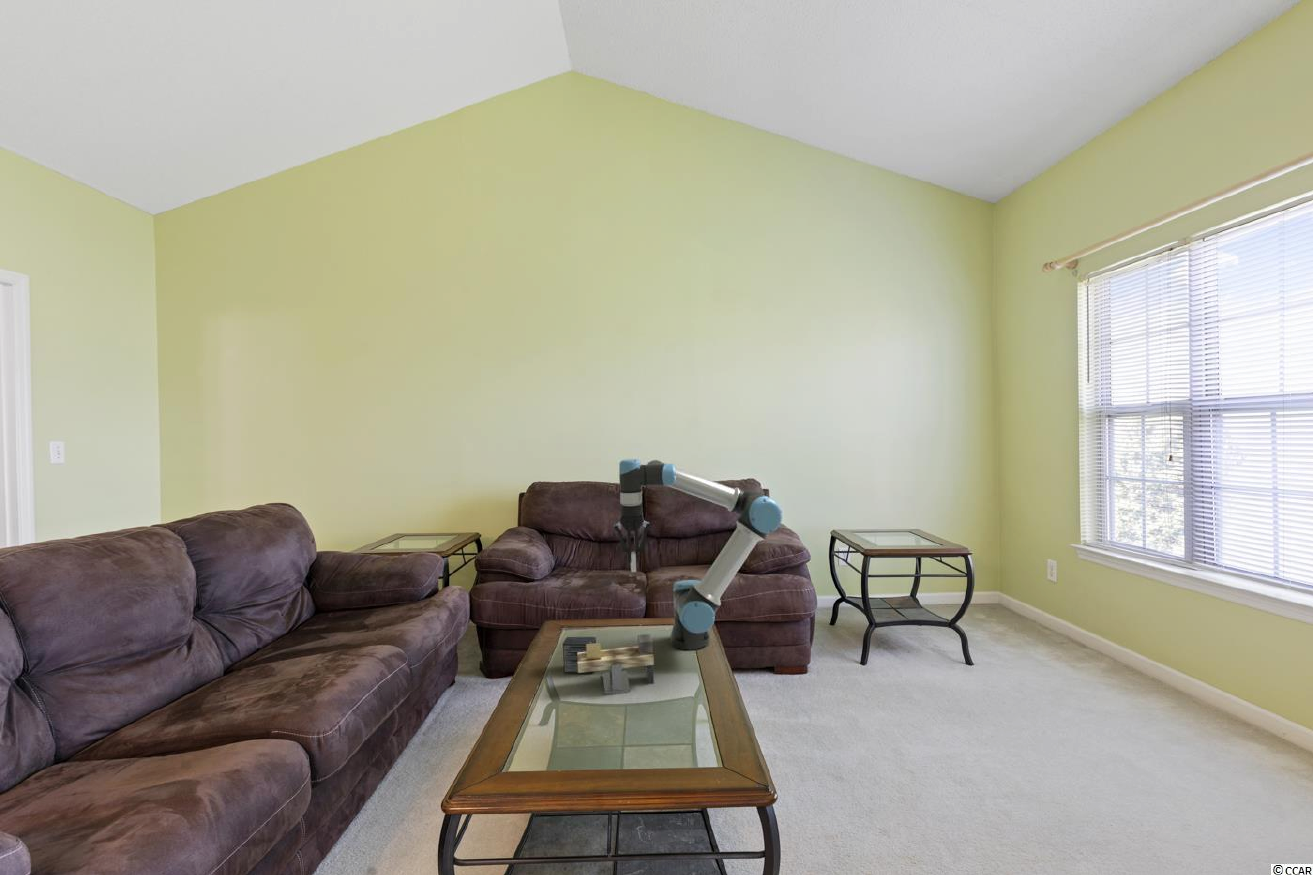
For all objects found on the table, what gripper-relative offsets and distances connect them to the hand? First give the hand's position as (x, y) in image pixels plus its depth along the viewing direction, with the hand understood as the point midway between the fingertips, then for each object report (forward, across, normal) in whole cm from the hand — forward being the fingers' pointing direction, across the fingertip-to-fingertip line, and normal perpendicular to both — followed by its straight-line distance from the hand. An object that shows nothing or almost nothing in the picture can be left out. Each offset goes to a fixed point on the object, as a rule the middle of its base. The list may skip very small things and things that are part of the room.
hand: (633, 571), depth 192 cm
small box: (+33, +20, +1) cm, 38 cm away
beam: (+25, +8, +14) cm, 30 cm away
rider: (+24, +15, +14) cm, 32 cm away
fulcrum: (+32, +4, +14) cm, 36 cm away
